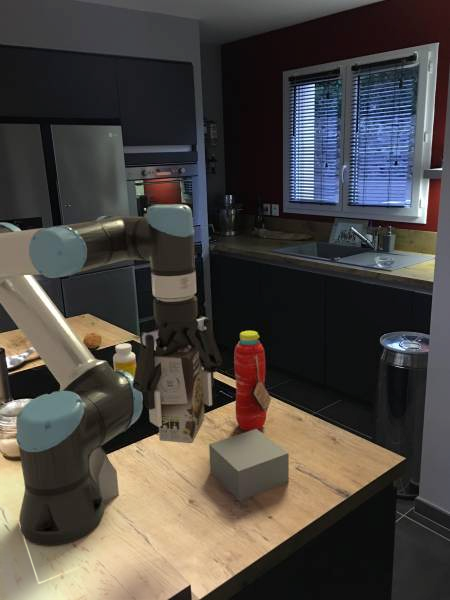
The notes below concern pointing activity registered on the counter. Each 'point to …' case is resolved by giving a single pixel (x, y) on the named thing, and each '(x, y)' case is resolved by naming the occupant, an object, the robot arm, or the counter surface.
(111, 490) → the white carton
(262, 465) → the riser block
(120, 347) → the supplement bottle
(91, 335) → the pastry
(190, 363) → the coffee box
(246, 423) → the water bottle
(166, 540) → the counter surface
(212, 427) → the counter surface
